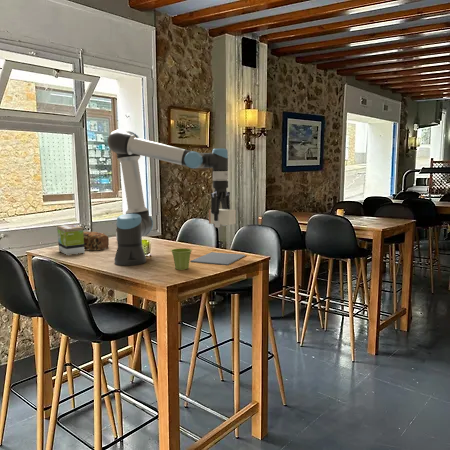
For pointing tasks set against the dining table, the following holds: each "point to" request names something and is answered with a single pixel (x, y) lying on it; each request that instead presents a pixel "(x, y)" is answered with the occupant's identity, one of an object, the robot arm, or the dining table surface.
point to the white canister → (224, 217)
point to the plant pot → (181, 258)
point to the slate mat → (218, 258)
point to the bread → (95, 240)
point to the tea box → (70, 239)
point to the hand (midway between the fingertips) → (220, 226)
